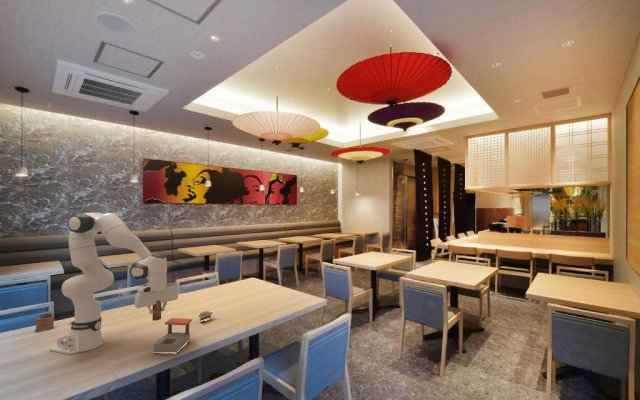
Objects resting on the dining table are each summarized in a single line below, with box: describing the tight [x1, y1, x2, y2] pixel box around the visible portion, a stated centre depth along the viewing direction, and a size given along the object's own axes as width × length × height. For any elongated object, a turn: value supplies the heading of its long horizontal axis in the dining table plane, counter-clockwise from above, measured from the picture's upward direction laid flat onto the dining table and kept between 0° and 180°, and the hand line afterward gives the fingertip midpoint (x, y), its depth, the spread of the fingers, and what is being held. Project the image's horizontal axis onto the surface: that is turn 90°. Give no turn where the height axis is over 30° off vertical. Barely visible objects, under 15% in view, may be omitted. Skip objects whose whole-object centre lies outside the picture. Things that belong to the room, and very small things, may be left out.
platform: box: [198, 310, 214, 322], centre depth 192 cm, size 12×18×7 cm, turn 147°
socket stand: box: [152, 317, 193, 352], centre depth 156 cm, size 12×16×12 cm
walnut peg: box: [151, 300, 162, 321], centre depth 151 cm, size 4×4×10 cm
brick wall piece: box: [35, 312, 55, 333], centre depth 173 cm, size 8×3×10 cm, turn 135°
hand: (157, 312), depth 151 cm, fingers closed on walnut peg, 4 cm apart
